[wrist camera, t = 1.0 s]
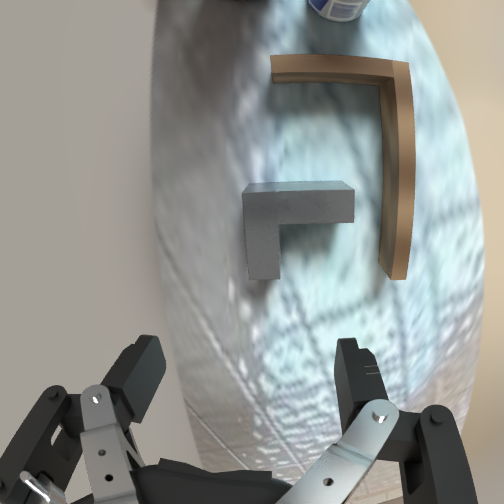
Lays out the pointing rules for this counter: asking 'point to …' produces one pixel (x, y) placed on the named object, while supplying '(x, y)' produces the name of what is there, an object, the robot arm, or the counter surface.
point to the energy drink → (339, 9)
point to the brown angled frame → (393, 135)
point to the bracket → (288, 217)
